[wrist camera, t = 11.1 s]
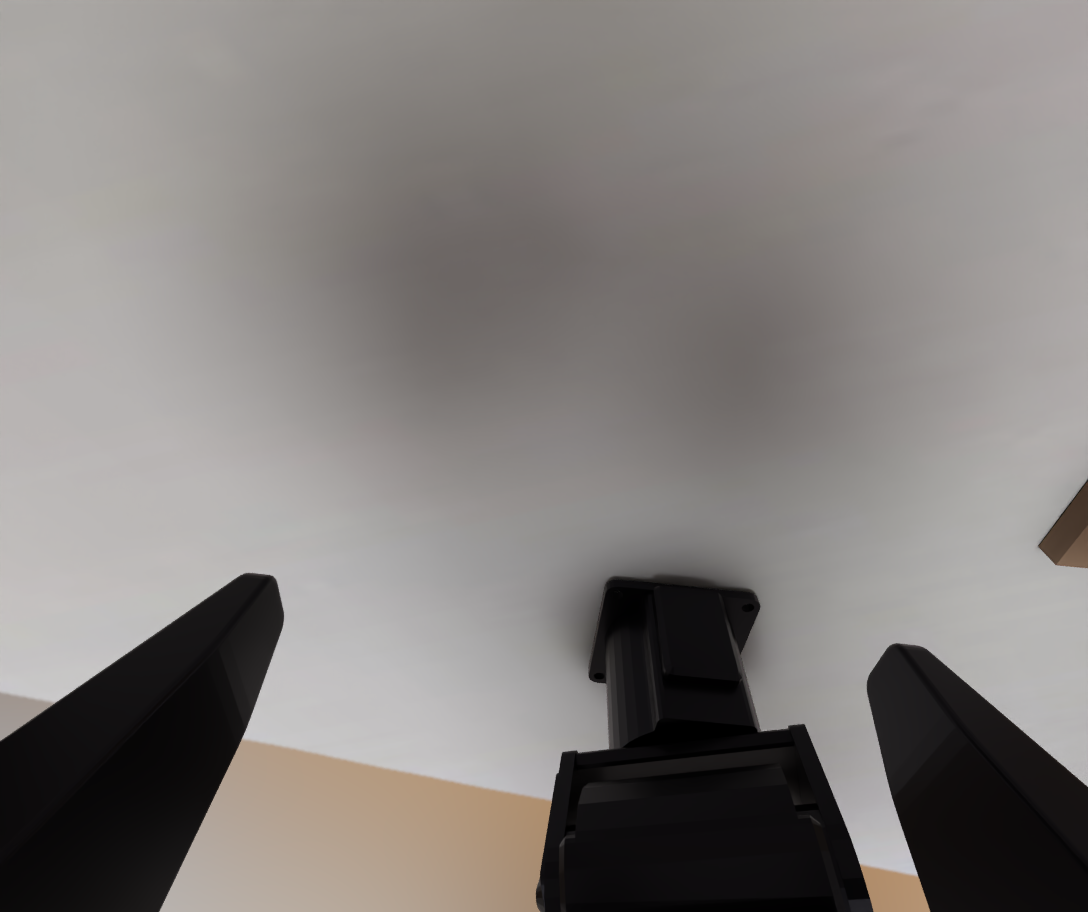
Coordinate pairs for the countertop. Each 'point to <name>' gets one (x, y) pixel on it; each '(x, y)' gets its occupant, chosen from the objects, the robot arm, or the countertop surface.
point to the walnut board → (1070, 534)
